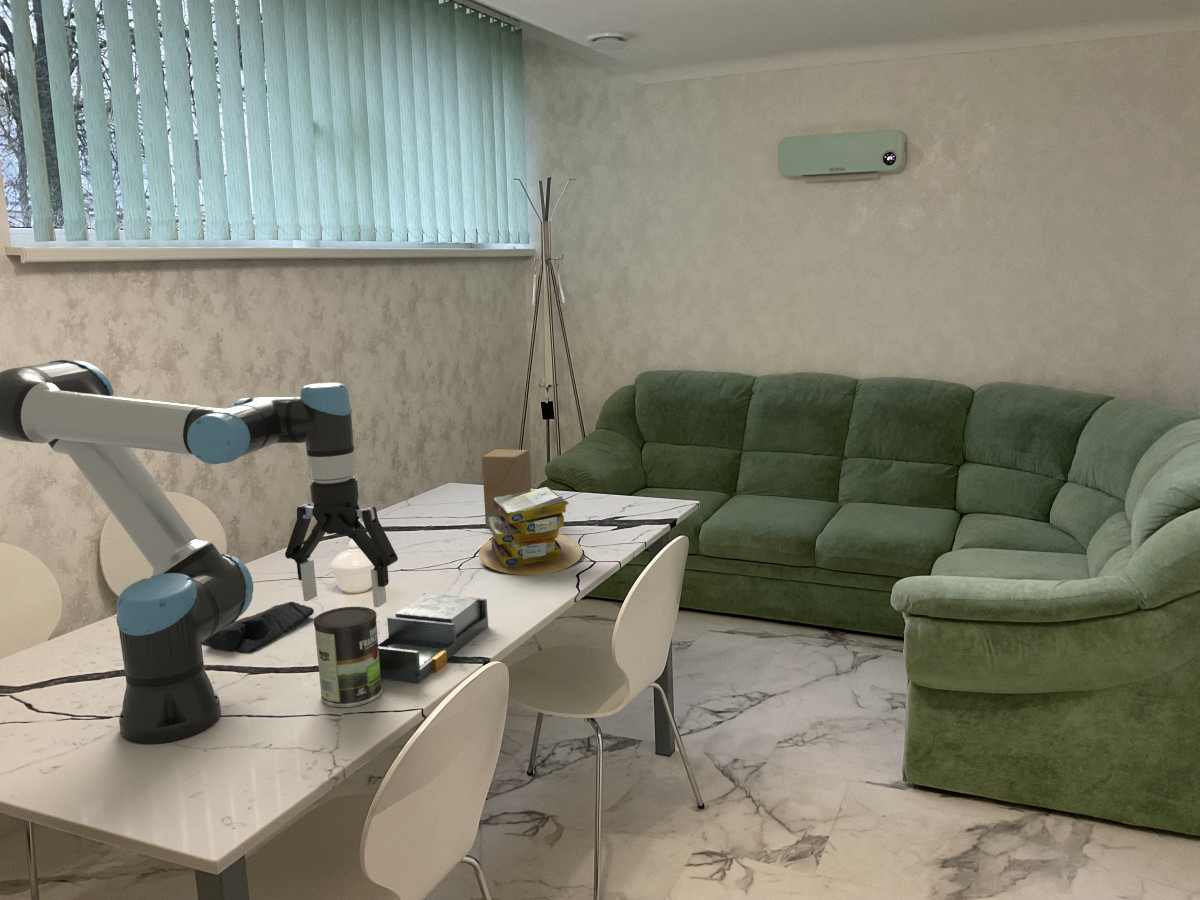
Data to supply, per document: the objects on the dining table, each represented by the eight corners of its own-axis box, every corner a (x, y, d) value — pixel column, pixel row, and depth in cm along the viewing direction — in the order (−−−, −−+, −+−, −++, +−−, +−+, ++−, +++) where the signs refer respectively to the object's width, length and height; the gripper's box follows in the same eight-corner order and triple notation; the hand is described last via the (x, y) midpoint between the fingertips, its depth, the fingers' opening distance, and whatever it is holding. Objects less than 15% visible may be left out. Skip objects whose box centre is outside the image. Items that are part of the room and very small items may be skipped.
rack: (422, 683, 175) (419, 650, 173) (349, 674, 179) (346, 642, 178) (491, 626, 200) (489, 596, 199) (426, 619, 205) (424, 591, 204)
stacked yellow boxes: (590, 569, 234) (587, 500, 231) (483, 579, 230) (479, 509, 226) (572, 541, 258) (570, 478, 255) (475, 549, 253) (472, 485, 250)
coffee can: (392, 683, 175) (386, 607, 172) (367, 709, 165) (360, 629, 163) (337, 680, 177) (330, 604, 175) (309, 706, 167) (302, 626, 165)
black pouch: (327, 620, 209) (325, 598, 208) (244, 658, 190) (242, 635, 189) (273, 609, 216) (271, 588, 215) (189, 646, 197) (186, 623, 196)
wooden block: (485, 527, 273) (481, 456, 269) (499, 518, 283) (495, 448, 279) (519, 529, 270) (515, 457, 266) (532, 519, 280) (529, 449, 276)
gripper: (412, 475, 163) (421, 599, 167) (283, 470, 171) (295, 588, 176) (387, 486, 156) (398, 615, 160) (255, 480, 165) (268, 603, 169)
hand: (344, 601), depth 168 cm, fingers open, 13 cm apart
